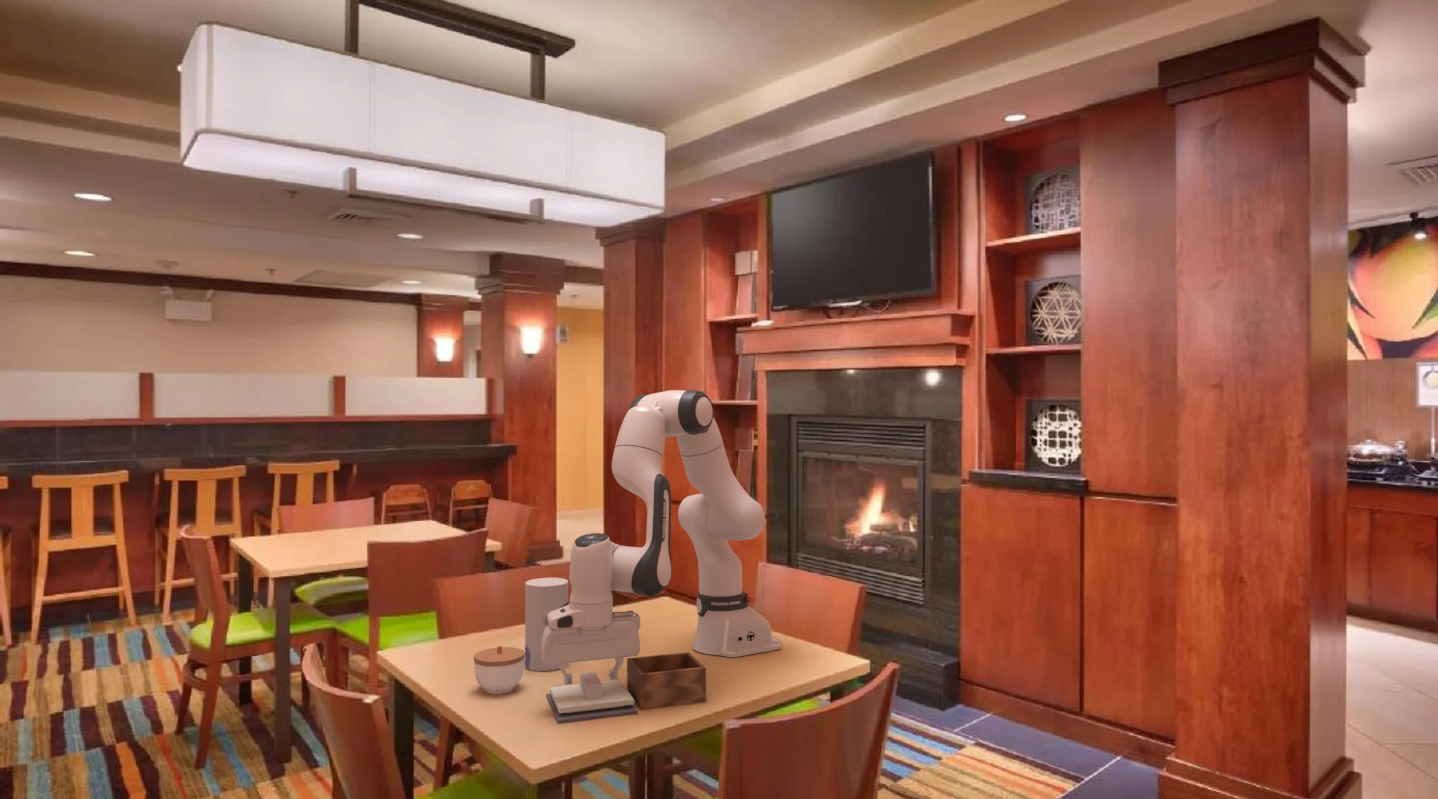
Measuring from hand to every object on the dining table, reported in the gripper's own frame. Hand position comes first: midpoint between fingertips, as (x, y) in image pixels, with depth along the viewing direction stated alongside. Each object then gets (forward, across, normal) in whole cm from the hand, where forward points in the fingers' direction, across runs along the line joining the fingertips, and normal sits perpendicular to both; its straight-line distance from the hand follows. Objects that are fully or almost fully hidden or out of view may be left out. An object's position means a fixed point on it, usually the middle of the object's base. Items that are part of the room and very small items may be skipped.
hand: (591, 681), depth 171 cm
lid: (+4, 0, 0) cm, 4 cm away
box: (+5, -16, 0) cm, 17 cm away
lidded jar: (+5, +17, -16) cm, 24 cm away
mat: (+5, 0, 0) cm, 5 cm away
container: (+5, +5, -30) cm, 31 cm away
